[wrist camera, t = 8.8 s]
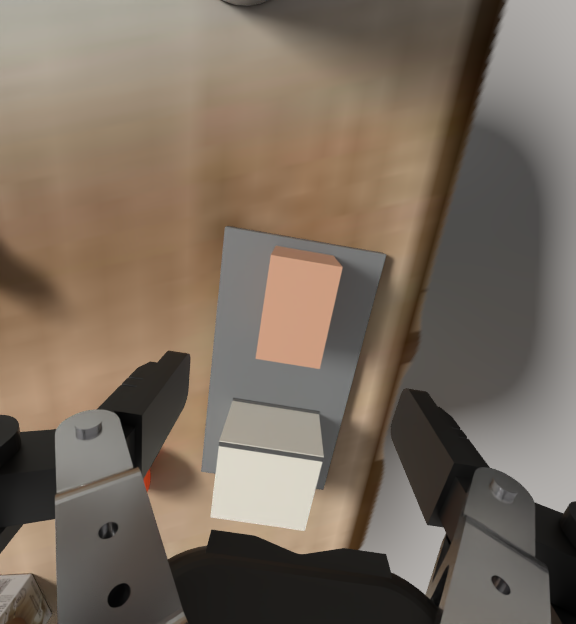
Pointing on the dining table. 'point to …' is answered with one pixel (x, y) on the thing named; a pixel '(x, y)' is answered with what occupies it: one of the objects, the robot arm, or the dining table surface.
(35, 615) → the coffee box
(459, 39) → the dining table surface
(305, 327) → the stub
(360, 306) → the grey tray
